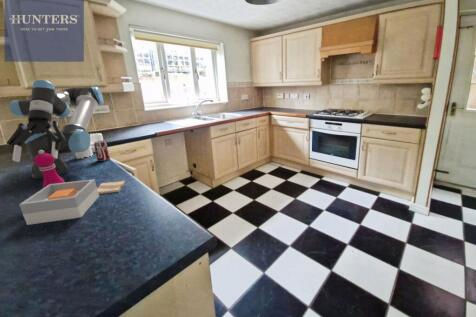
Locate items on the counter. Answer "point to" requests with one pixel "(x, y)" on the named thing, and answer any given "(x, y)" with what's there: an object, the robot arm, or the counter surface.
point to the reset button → (63, 194)
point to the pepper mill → (47, 168)
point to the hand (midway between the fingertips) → (35, 159)
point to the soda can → (101, 150)
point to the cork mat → (110, 187)
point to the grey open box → (59, 202)
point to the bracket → (91, 149)
